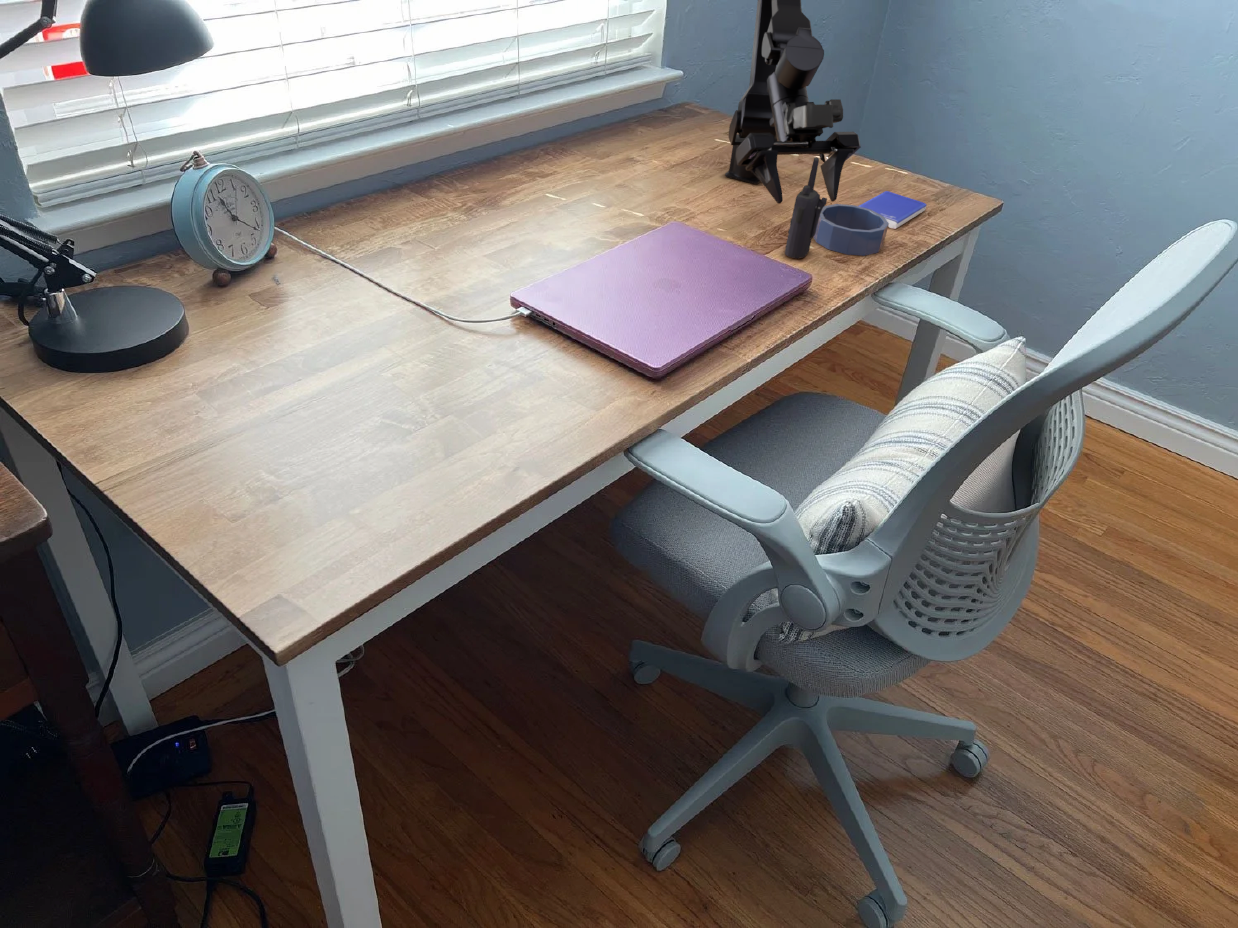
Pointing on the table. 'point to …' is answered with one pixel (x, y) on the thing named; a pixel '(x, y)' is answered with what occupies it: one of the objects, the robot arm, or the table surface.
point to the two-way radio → (804, 218)
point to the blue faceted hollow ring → (851, 229)
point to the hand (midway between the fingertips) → (807, 201)
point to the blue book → (895, 208)
